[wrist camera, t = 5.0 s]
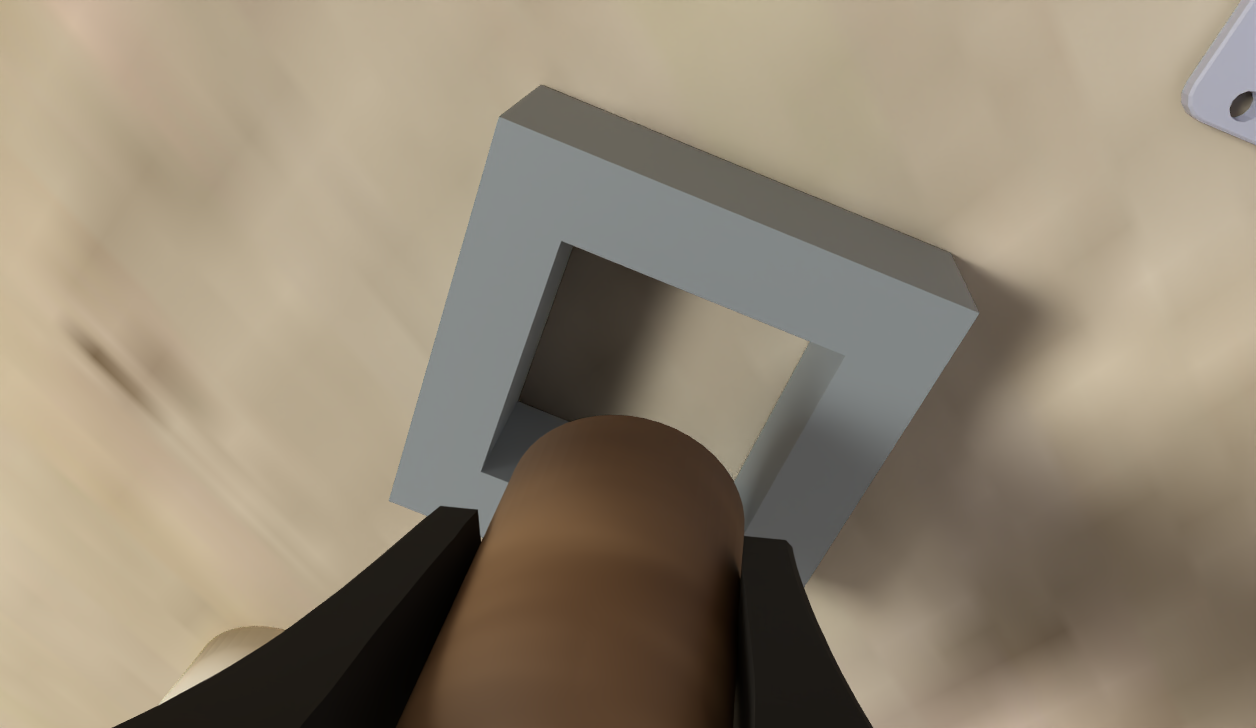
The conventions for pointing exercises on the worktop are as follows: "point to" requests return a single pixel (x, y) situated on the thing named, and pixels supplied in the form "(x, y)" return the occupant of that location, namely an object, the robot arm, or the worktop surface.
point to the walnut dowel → (596, 591)
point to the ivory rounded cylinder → (222, 655)
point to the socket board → (704, 266)
